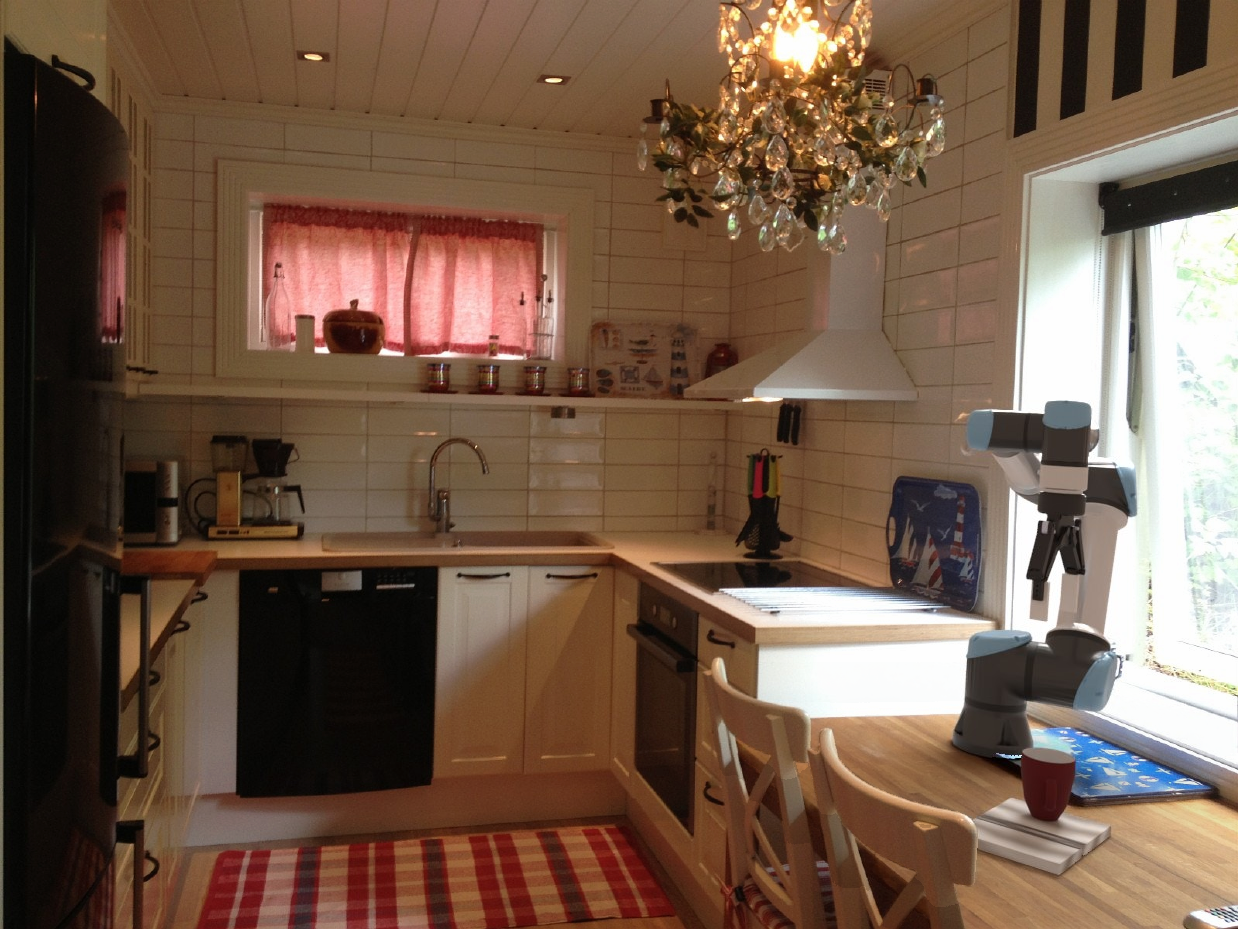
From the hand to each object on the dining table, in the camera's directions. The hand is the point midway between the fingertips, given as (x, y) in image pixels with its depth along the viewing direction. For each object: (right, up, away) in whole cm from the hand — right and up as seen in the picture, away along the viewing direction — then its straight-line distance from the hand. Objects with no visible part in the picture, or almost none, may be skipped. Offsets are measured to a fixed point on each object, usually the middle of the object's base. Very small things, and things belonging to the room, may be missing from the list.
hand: (1053, 615), depth 184 cm
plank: (-7, -32, -13) cm, 35 cm away
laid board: (-14, -32, -21) cm, 41 cm away
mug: (-6, -31, -13) cm, 34 cm away
